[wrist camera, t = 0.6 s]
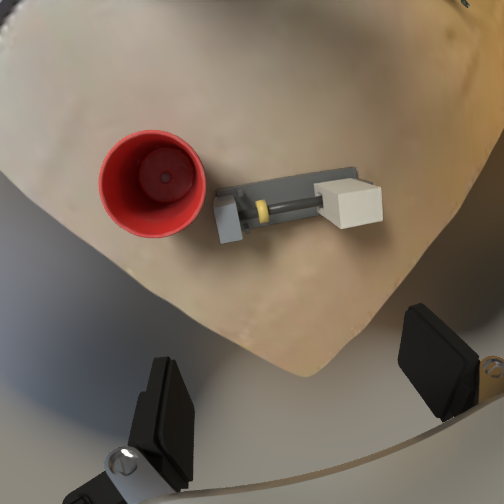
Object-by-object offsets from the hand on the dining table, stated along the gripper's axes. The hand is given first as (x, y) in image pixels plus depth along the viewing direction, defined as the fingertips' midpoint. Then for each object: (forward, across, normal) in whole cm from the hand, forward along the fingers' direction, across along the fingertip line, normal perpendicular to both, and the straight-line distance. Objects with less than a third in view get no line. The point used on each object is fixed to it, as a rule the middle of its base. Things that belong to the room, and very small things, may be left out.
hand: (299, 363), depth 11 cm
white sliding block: (+27, -12, -1) cm, 29 cm away
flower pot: (+30, +9, -6) cm, 31 cm away
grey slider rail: (+29, -6, 0) cm, 30 cm away
